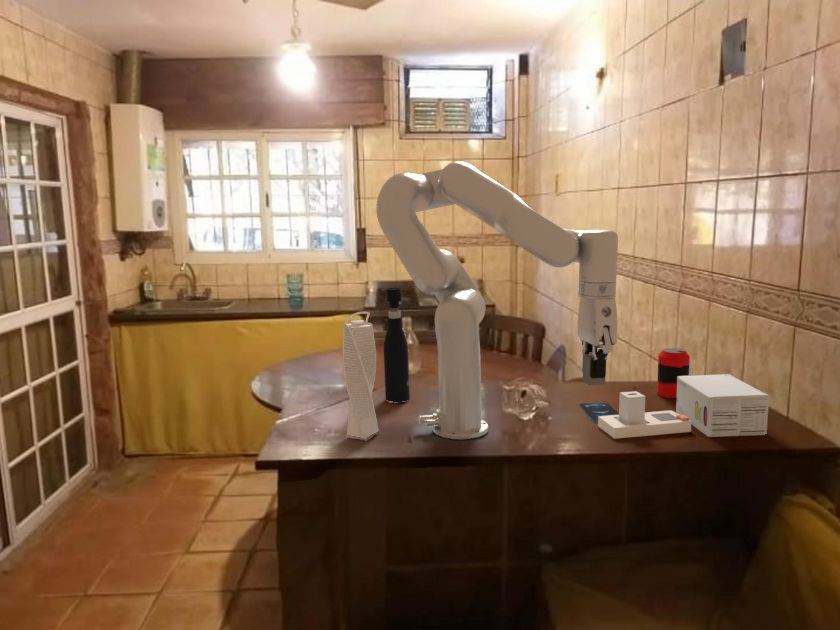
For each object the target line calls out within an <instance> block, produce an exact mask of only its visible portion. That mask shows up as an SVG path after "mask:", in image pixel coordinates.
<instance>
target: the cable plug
mask: <svg viewBox="0 0 840 630" xmlns="http://www.w3.org/2000/svg"><path fill="white" fill-rule="evenodd" d="M591 359H593V352H589V354H583V353H582V368H583V372H582V382H583V383H585V384H587V385H588V386H600V385H601V386H603V385H606V376H605V377H604V378H591V377H590V368H591Z"/></svg>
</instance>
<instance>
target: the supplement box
mask: <svg viewBox="0 0 840 630" xmlns="http://www.w3.org/2000/svg"><path fill="white" fill-rule="evenodd" d="M769 402H770V395H769V394H768V393H766V392H764V391H762V390H760V389H758V388H755V387H753V386H752V385H750V384H749V383H746V382H745V381H743V380H741V379H738V377H735V376H734V375H732V374H730V373H728V374H727V373H726V374H724V373H723V374H705V375H703V374H699V375H689V376H677V399H676V406H675V409H676V410H675V413H677V414H679V415H685V416H686V417H688V418H689V420H690V421H691V426H693V427H694V428H696V429H697V430H698V431H700V432H701V433H703V435H705V436H706V437H708V438H718V437H738V436H739V437H742V436H765V434H767V433H768V431H767V430H768V416H769Z"/></svg>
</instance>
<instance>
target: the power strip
mask: <svg viewBox="0 0 840 630" xmlns="http://www.w3.org/2000/svg"><path fill="white" fill-rule="evenodd" d="M597 427H598V428H599V429H600V430H602V431H603V432H605V433H606V434H607V435H608V436H610V437H611V438H612V439H614V440H615V439H626V438H637V437H647V436H649V437H650V436H658V435H659V436H660V435H669V434H681V433H690V432H691V433H692V424H691V421H690V420H689V418H688V417H686V416H685V415H679V414H678V413H676V411H674V410H661V411H660V410H659V411H649V412H646V411H645V423H644V424H636V425H624V424H622V423H621V422H620V421H619V415H610V416H598V423H597Z"/></svg>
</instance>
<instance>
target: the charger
mask: <svg viewBox="0 0 840 630" xmlns="http://www.w3.org/2000/svg"><path fill="white" fill-rule="evenodd" d="M618 400H619V402H618V403H619V405H618V413H619V421H620V422H621V423H622V424H624V425H636V424H644V423H645V412H646V395H644V394H642V393H640V392H638V391H636V390H635V391H622V392H619V399H618Z"/></svg>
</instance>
